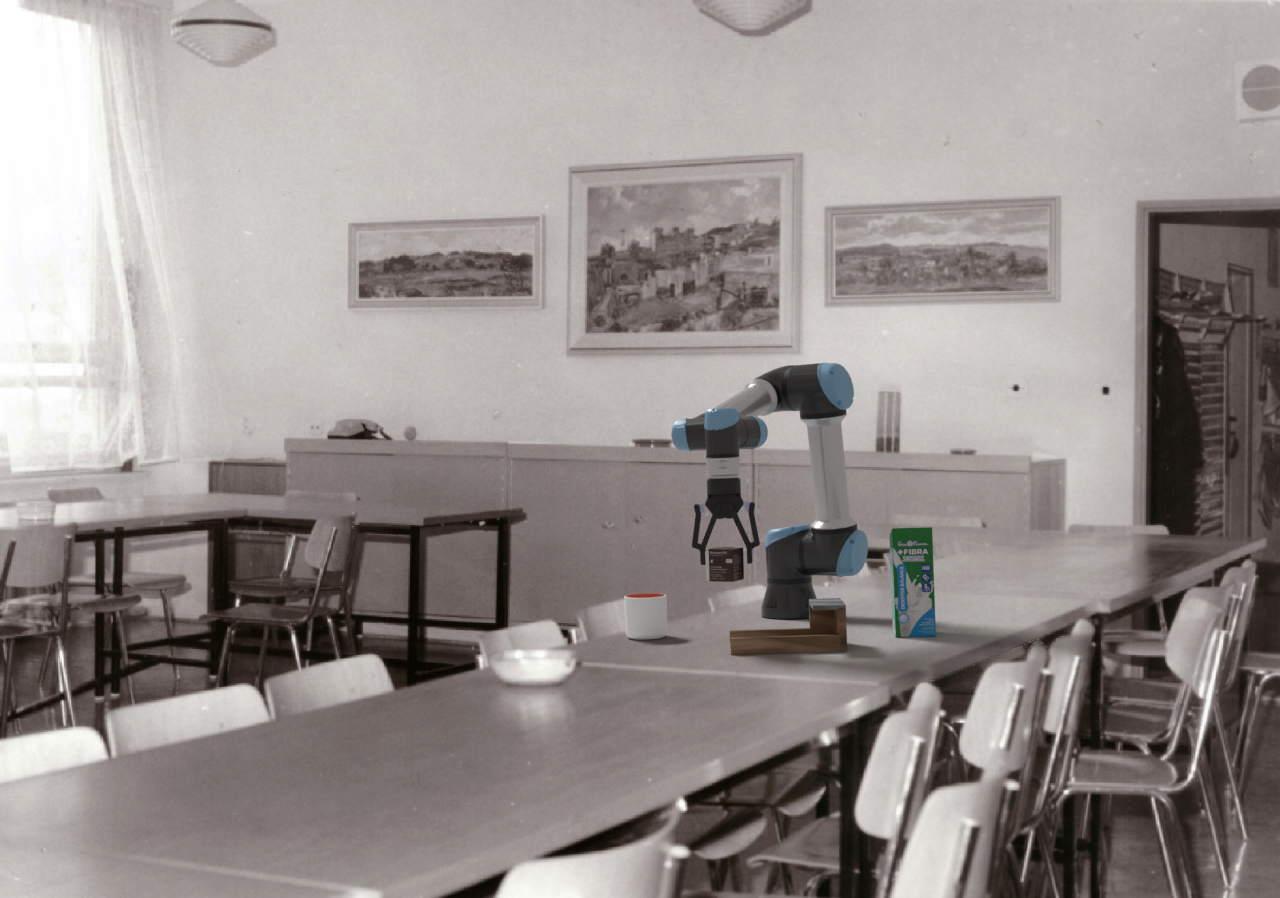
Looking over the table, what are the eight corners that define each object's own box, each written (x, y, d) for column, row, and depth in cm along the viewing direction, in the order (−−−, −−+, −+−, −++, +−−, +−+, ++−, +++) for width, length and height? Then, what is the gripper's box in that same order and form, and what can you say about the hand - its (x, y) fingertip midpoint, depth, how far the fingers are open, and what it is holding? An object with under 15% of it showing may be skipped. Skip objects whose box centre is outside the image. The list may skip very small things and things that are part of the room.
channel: (730, 645, 325) (728, 601, 325) (841, 642, 324) (840, 597, 324) (731, 654, 312) (729, 608, 312) (847, 651, 311) (845, 604, 311)
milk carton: (931, 631, 336) (928, 524, 336) (936, 636, 328) (932, 526, 327) (892, 631, 337) (888, 525, 337) (895, 637, 328) (891, 527, 328)
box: (708, 581, 321) (707, 549, 321) (720, 578, 326) (719, 546, 326) (733, 582, 318) (731, 549, 318) (745, 579, 323) (743, 546, 323)
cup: (663, 640, 337) (662, 597, 337) (621, 640, 339) (620, 598, 339) (671, 634, 347) (669, 592, 347) (630, 634, 349) (629, 593, 349)
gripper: (676, 479, 319) (680, 582, 319) (770, 476, 317) (773, 579, 317) (678, 478, 326) (681, 578, 327) (769, 475, 325) (773, 576, 325)
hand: (727, 579), depth 322 cm, fingers closed on box, 8 cm apart
